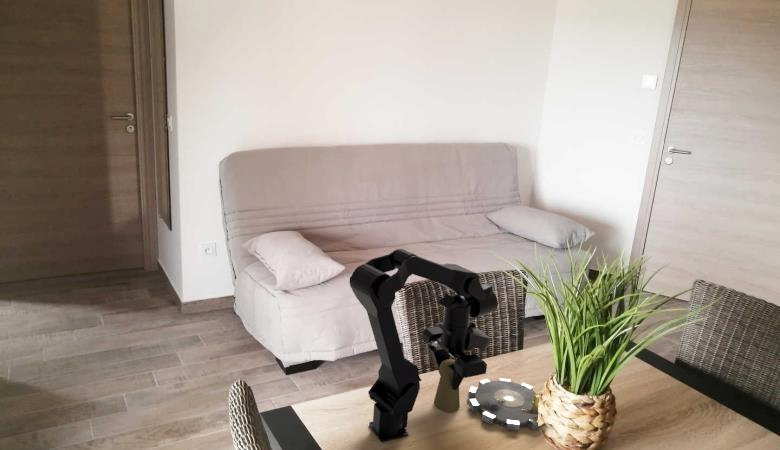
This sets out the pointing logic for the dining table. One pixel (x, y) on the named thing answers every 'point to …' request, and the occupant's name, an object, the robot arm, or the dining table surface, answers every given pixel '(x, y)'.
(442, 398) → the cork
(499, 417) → the sprocket
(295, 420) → the dining table surface
